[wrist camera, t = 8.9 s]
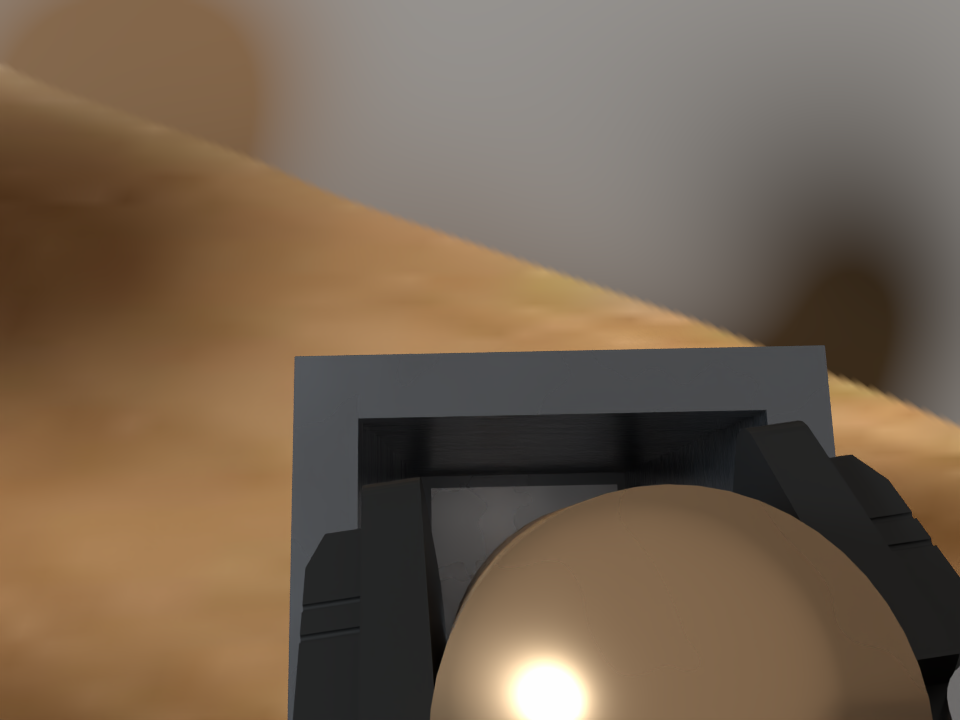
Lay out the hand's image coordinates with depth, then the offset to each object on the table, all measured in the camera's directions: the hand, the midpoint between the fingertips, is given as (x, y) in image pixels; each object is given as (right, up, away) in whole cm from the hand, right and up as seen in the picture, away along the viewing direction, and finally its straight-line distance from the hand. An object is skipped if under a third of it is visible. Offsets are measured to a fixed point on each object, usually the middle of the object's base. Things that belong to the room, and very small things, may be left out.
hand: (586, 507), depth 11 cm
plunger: (0, -6, +21) cm, 22 cm away
